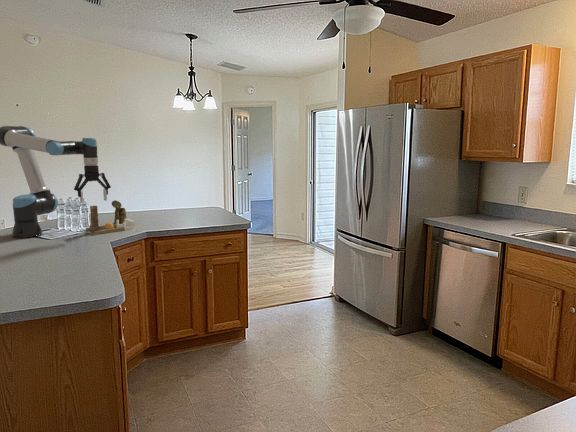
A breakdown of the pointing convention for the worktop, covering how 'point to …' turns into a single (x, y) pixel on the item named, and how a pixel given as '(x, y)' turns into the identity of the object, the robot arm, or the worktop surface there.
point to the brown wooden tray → (116, 228)
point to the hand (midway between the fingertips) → (93, 201)
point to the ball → (109, 226)
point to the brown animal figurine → (119, 212)
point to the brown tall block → (94, 219)
